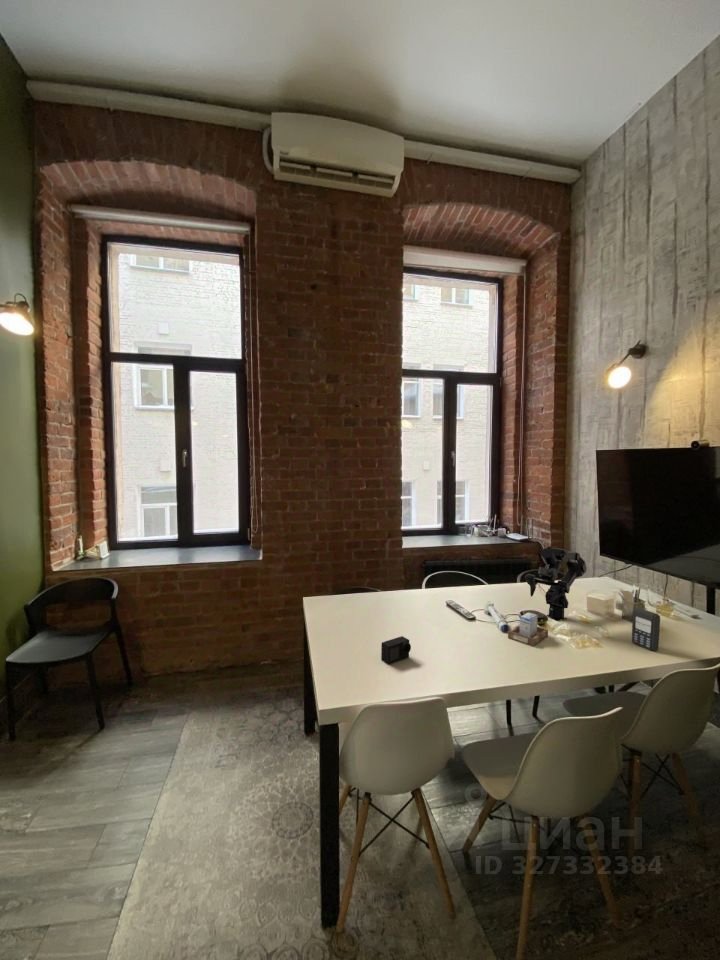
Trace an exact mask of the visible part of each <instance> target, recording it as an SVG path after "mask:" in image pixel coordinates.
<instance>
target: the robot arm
mask: <svg viewBox="0 0 720 960" xmlns="http://www.w3.org/2000/svg"><path fill="white" fill-rule="evenodd" d="M540 557H541V558H542V560H543V562H544V564H545V567H542V566H539V568H538V571H537V574H538V575H539V578H538V577H536V575H535V574H530V573H527V574H525V576H524V579H525V582H526V583H527V585H529V591H530V592H529V593H530V594H529V595H530V597H533V596H534V593H535V592H536V589H537V585H538V584H541V585H545V586H550V587H549V588H547V591H546V593H545V597H544V598H545V603H546V605H549V608H548V614H546V617H548V618H550V619H553V620H554V621H564V620H567V618H568V617H565V609H568V608H569V601H568V599H567V595H566V594H569V593H570V589H571V586H572V585H573V583H574V582H575V581H576V580H577V578H580V577H582V576H584V575H585V573H586V572H587V564H586V561H585V560H584V559H583V557H581V554H580V553H579V552H577V551H568V550H566V549H565V548H557V547H553V546H547V547H545V548H543V549H542V550H541V551H540ZM572 560H573V561H572ZM561 562H565V565H566V569H567V571H566V573H565V574H564V576H563V577H562V578H561V580H557V579H558V573H559V571H560V569H561V568H562V566H561ZM556 580H557V582H556Z"/></svg>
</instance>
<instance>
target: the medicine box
mask: <svg viewBox="0 0 720 960" xmlns="http://www.w3.org/2000/svg"><path fill="white" fill-rule="evenodd" d="M538 618H539V617H538V614H535V613H532V612H526V613H525V614H523V615H521V616H520V617H519V624H520V634H521V635H524V636H528V637H531V638H532V637H533V636H534V635H536V634H537V626H538V620H539V619H538Z"/></svg>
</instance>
